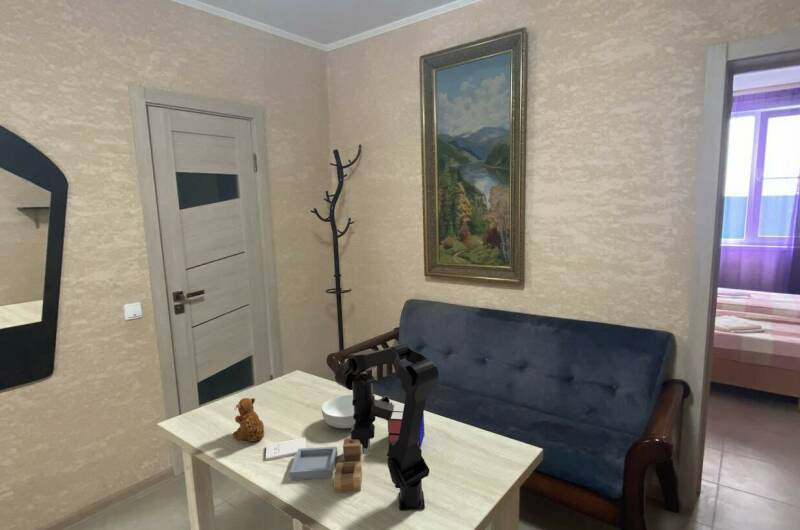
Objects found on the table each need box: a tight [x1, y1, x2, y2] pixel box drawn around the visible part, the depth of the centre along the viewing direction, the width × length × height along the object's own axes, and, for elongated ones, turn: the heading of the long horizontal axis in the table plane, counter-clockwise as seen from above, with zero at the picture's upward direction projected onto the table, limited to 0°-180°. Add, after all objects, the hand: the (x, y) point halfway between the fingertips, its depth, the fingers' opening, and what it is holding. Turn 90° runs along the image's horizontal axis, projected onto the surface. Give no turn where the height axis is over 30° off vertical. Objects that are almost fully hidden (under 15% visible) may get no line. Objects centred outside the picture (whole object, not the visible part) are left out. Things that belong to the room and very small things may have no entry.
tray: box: [289, 446, 338, 481], centre depth 128 cm, size 12×12×2 cm
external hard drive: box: [265, 437, 308, 461], centre depth 138 cm, size 2×8×12 cm
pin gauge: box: [361, 439, 372, 456], centre depth 124 cm, size 2×2×7 cm
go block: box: [333, 461, 363, 493], centre depth 119 cm, size 7×7×4 cm
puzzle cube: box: [387, 404, 425, 448], centre depth 139 cm, size 10×10×10 cm
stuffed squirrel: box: [232, 397, 265, 443], centre depth 146 cm, size 10×14×13 cm
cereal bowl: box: [321, 394, 356, 430], centre depth 152 cm, size 17×17×7 cm
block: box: [342, 436, 363, 463], centre depth 132 cm, size 5×5×5 cm
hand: (366, 445), depth 124 cm, fingers closed on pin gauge, 2 cm apart
